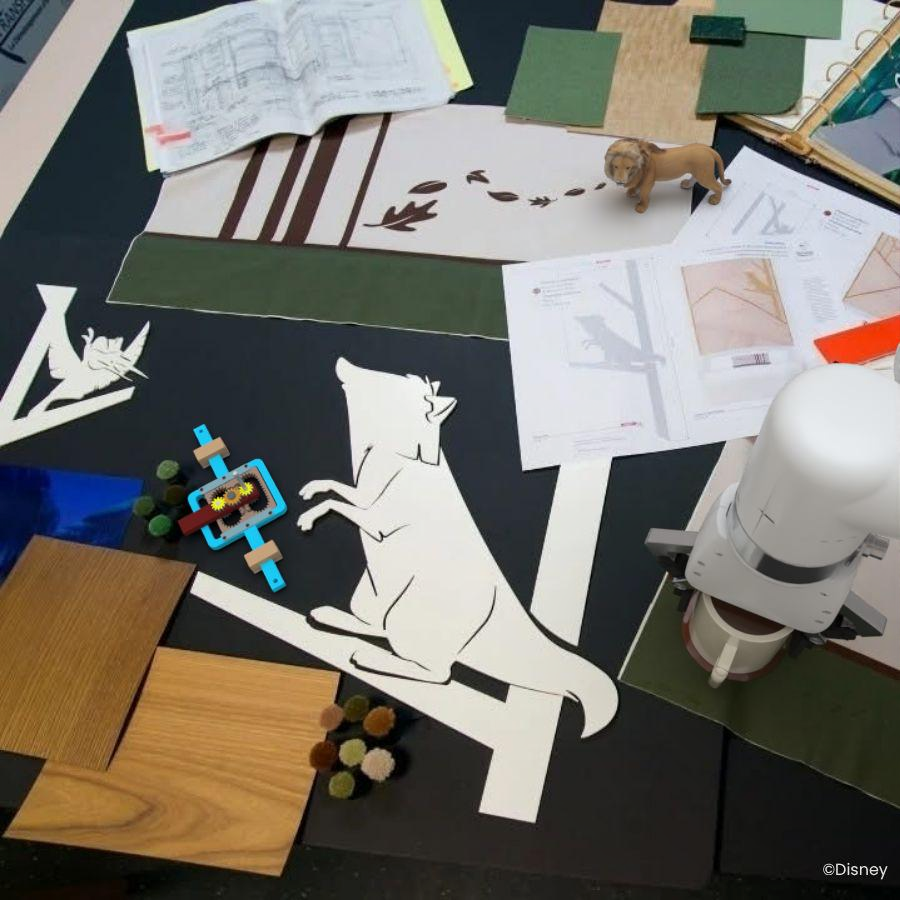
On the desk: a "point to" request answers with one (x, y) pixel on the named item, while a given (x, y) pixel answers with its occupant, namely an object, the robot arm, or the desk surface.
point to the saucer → (708, 662)
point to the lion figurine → (662, 167)
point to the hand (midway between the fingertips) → (740, 617)
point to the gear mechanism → (235, 506)
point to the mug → (733, 637)
